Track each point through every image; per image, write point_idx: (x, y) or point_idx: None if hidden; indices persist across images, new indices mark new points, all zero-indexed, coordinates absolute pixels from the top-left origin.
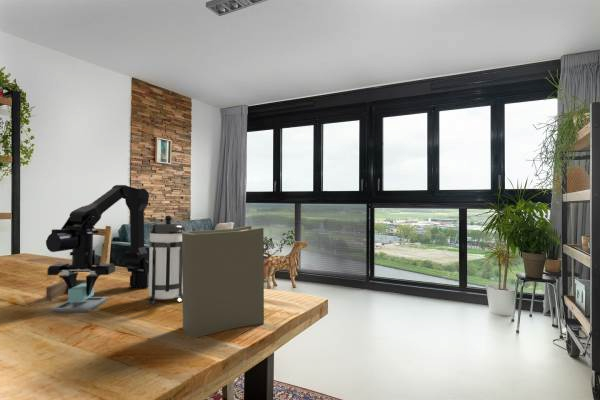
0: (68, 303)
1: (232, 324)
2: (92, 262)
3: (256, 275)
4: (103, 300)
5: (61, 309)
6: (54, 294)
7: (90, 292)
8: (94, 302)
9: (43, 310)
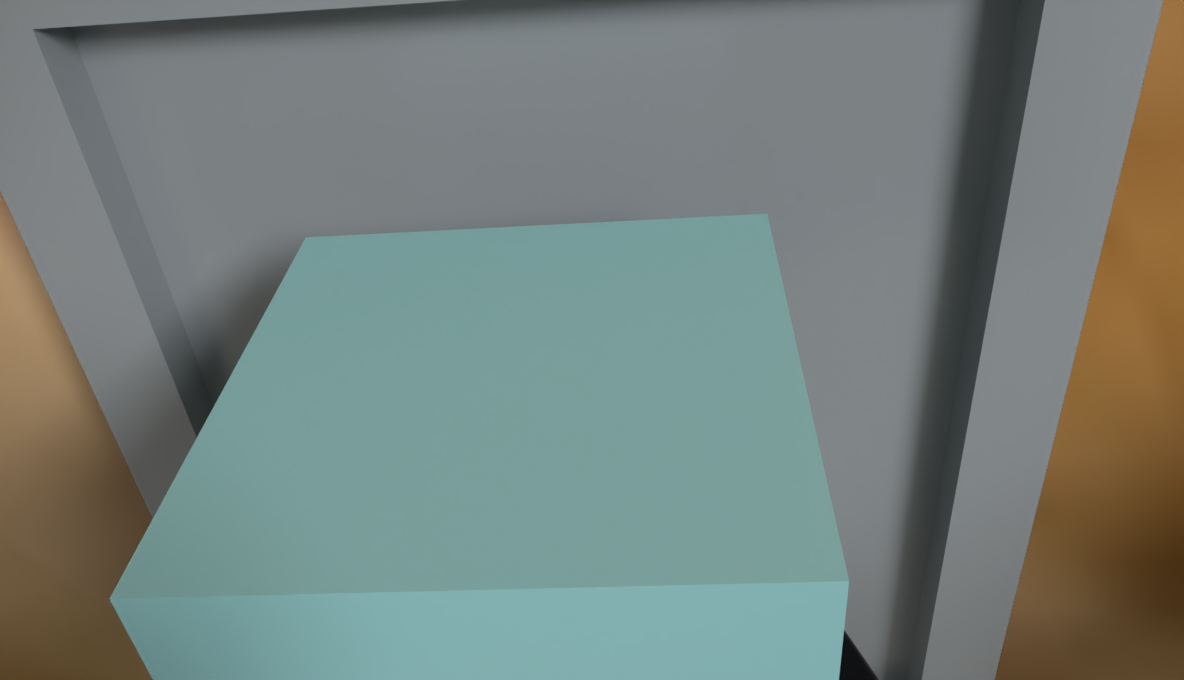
0: (202, 381)
1: None
2: None
3: None
4: (1102, 180)
5: None
6: None
7: (846, 661)
8: (852, 284)
9: (29, 618)
